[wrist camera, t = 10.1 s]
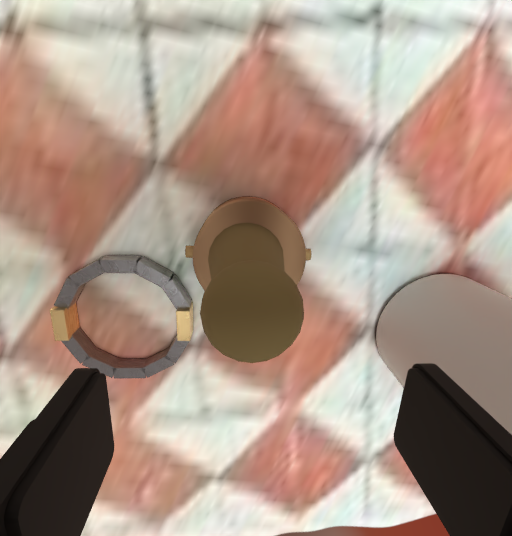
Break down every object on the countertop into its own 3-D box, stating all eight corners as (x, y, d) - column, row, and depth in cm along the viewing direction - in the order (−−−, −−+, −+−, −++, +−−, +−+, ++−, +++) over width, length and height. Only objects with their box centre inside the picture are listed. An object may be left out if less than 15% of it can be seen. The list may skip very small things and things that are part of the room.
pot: (192, 288, 30) (184, 310, 25) (190, 194, 27) (180, 199, 23) (298, 289, 31) (310, 311, 26) (306, 198, 28) (321, 204, 23)
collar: (73, 368, 32) (62, 382, 30) (55, 253, 28) (40, 260, 26) (194, 368, 33) (191, 381, 31) (191, 256, 29) (188, 263, 27)
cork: (221, 211, 23) (210, 245, 13) (295, 237, 24) (341, 288, 14) (198, 282, 25) (171, 365, 14) (268, 304, 26) (290, 396, 15)
